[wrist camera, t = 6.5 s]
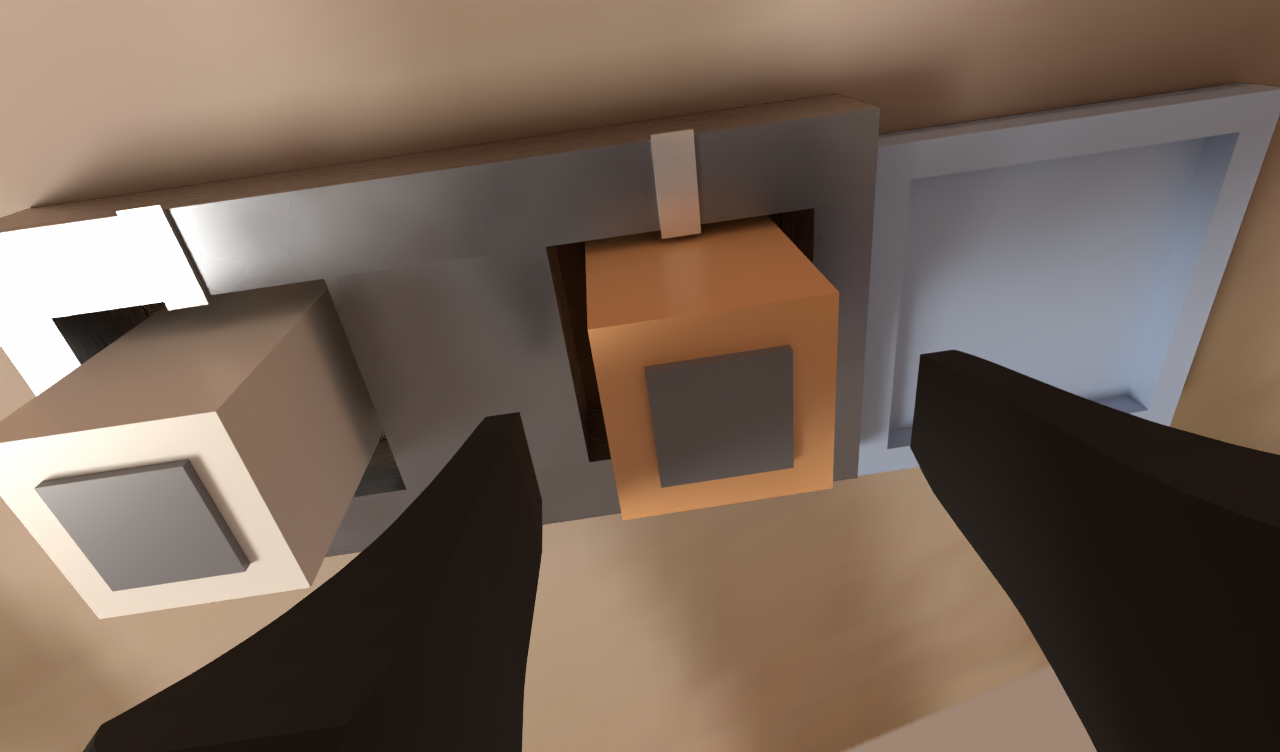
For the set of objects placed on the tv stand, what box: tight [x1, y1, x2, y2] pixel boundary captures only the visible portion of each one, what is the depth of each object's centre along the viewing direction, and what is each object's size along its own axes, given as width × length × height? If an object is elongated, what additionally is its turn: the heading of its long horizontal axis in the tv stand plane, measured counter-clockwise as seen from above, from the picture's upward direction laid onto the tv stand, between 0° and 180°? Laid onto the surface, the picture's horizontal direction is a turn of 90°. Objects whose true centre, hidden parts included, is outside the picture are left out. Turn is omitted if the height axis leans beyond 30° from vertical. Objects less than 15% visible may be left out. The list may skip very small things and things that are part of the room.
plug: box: [585, 215, 839, 520], centre depth 14 cm, size 4×4×6 cm
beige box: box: [0, 279, 384, 619], centre depth 14 cm, size 4×4×6 cm
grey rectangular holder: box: [0, 94, 880, 557], centre depth 15 cm, size 18×9×2 cm, turn 97°
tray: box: [858, 83, 1280, 476], centre depth 17 cm, size 9×9×1 cm
